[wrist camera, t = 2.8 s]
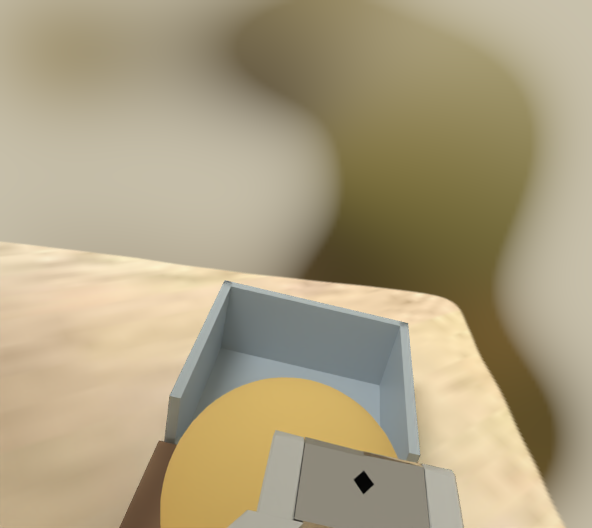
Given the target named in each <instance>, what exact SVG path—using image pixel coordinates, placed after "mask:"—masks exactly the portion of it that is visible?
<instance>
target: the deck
mask: <svg viewBox="0 0 592 528" xmlns="http://www.w3.org/2000/svg"><path fill="white" fill-rule="evenodd" d="M176 446H177V445H175V444H171V443H167V442H163V441H159V442H158V444H157V446H156V448H155V451H154V453H153V455H152V457H151V459H150V462H149V464H148V466H147V468H146V470H145V473H144V475H143V477H142V479H141V481H140V484H139V486H138V488H137V490H136V492H135V495H134V497H133V499H132V501H131V503H130V506H129V508H128V510H127V512H126V514H125V517H124V519H123V521H122V523H121V525H120V528H161V526H160V502H161V493H162V487H163V482H164V477H165V473H166V470H167V467H168V464H169V461H170V459H171V457H172V454H173V452H174V450H175V448H176Z"/></svg>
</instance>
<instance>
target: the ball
mask: <svg viewBox="0 0 592 528" xmlns="http://www.w3.org/2000/svg"><path fill="white" fill-rule="evenodd" d="M275 430H278V431H282V432H285V433H289V434H293V435H297V436H301V437H304V439H305V437H308V438H312V439H316V440H320V441H323V442H327V443H331V444H335V445H339V446H343V447H347V448H351V449H355V450H359V451H365V452H370V453H374V454H379V455H383V456H388V457H393V458H397V459H398V457H397V455H396V453H395V450H394V448H393V446H392V444H391V442H390V441H389V439H388V437H387V435H386V434H385V432H384V431H383V430H382V428H381V427H380V426H379V424H378V423H377V422H376V421H375V419H374V418H373V417H372V416H371V415H370V414H369V413H368V412H367V411H366V410H365V409H364V408H363V407H362V406H361V405H360V404H358V403H357V402H356V401H354V400H353V399H351V398H350V397H348V396H347V395H345V394H343V393H342V392H340V391H338V390H336V389H334V388H332V387H330V386H328V385H325V384H322V383H319V382H316V381H312V380H307V379H302V378H288V377H278V378H268V379H262V380H258V381H254V382H251V383H248V384H245V385H242V386H240V387H238V388H235V389H233V390H231V391H230V392H228V393H226V394H224V395H223V396H221V397H220V398H218V399H217V400H215V401H214V402H213V403H211V404H210V405H209V406H208V407H206V408H205V409H204V410H203V411H202V412H201V413H200V414H199V415H198V416H197V418H196V419H195V420H194V421H193V422H192V423H191V424H190V426H189V427H188V429H187V430H186V431H185V433H184V434H183V436H182V437H181V439H180V440H179V442H178V444H177V446H176V448H175V450H174V452H173V454H172V457H171V459H170V461H169V464H168V467H167V470H166V473H165V477H164V482H163V487H162V493H161V502H160V526H161V528H227V527H228V526H229V525H231V524H232V523H233V522H234V521H235V520H236V519H237V518H239V517H240V516H241V515H242V514H243V513H244V512H245V511H247V510H251V511H257V506H258V502H259V497H260V493H261V488H262V484H263V479H264V475H265V470H266V466H267V461H268V457H269V452H270V448H271V443H272V439H273V435H274V433H275Z"/></svg>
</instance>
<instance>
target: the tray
mask: <svg viewBox="0 0 592 528" xmlns="http://www.w3.org/2000/svg"><path fill="white" fill-rule="evenodd" d="M278 377H288V378H302V379H307V380H312V381H316V382H319V383H322V384H325V385H328V386H330V387H332V388H334V389H336V390H338V391H340V392H342V393H343V394H345V395H347V396H348V397H350V398H351V399H353V400H354V401H356V402H357V403H358V404H360V405H361V406H362V407H363V408H364V409H365V410H366V411H367V412H368V413H369V414H370V415H371V416H372V417H373V418H374V419H375V421H376V422H377V423H378V424H379V426H380V427H381V428H382V430H383V431H384V432H385V434H386V435H387V437H388V439H389V441H390V442H391V444H392V446H393V448H394V450H395V453H396V455H397V457H398V459H402V460H406V461H411V462H416V463H417V462H418V460H419V457H420V447H419V437H418V426H417V415H416V404H415V394H414V383H413V372H412V361H411V351H410V340H409V329H408V323H405V322H400V321H396V320H392V319H388V318H383V317H379V316H375V315H371V314H366V313H362V312H358V311H354V310H349V309H345V308H341V307H336V306H332V305H328V304H324V303H319V302H315V301H311V300H307V299H302V298H298V297H294V296H289V295H285V294H281V293H277V292H272V291H268V290H264V289H260V288H255V287H251V286H247V285H242V284H238V283H234V282H230V281H224V283H223V285H222V287H221V289H220V291H219V293H218V296H217V298H216V300H215V302H214V304H213V306H212V308H211V310H210V312H209V314H208V316H207V319H206V321H205V323H204V325H203V327H202V329H201V331H200V333H199V335H198V337H197V340H196V342H195V344H194V346H193V348H192V350H191V352H190V354H189V356H188V358H187V360H186V363H185V365H184V367H183V369H182V371H181V373H180V375H179V377H178V379H177V381H176V383H175V386H174V388H173V390H172V392H171V394H170V397H169V405H168V414H167V423H166V431H165V440H164V442H167V443H171V444H175V445H177V444H178V442H179V440H180V439H181V437H182V436H183V434H184V433H185V431H186V430H187V429H188V427H189V426H190V424H191V423H192V422H193V421H194V420H195V419H196V418H197V416H198V415H199V414H200V413H201V412H202V411H203V410H204V409H205V408H206V407H208V406H209V405H210V404H211V403H213V402H214V401H215V400H217V399H218V398H220V397H221V396H223V395H224V394H226V393H228V392H230V391H231V390H233V389H235V388H238V387H240V386H242V385H245V384H248V383H251V382H254V381H258V380H262V379H268V378H278Z"/></svg>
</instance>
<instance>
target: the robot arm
mask: <svg viewBox="0 0 592 528" xmlns="http://www.w3.org/2000/svg"><path fill="white" fill-rule="evenodd" d="M227 528H464V525H463V519H462V513H461V507H460V501H459V495H458V489H457V483H456V478H455V475H454V473H453V472H452V470H448V469H444V468H439V467H435V466H430V465H425V464H421V465H420V464H419V463H416V462H411V461H406V460H402V459H397V458H393V457H388V456H383V455H379V454H374V453H370V452H365V451H359V450H355V449H351V448H347V447H343V446H339V445H335V444H331V443H327V442H323V441H320V440H316V439H312V438H308V437H305V439H304V437H301V436H297V435H293V434H289V433H285V432H282V431H278V430H275V433H274V435H273V439H272V443H271V448H270V452H269V457H268V461H267V466H266V470H265V475H264V479H263V484H262V488H261V493H260V497H259V502H258V506H257V511H251V510H247V511H245V512H244V513H243V514H242V515H241V516H240V517H239V518H237V519H236V520H235V521H234V522H233V523H232V524H231V525H229V526H228V527H227Z"/></svg>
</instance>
